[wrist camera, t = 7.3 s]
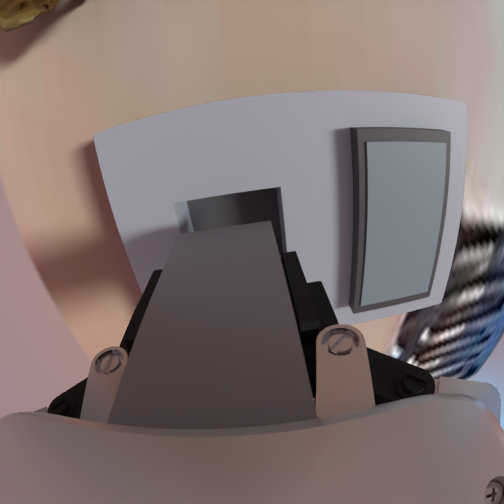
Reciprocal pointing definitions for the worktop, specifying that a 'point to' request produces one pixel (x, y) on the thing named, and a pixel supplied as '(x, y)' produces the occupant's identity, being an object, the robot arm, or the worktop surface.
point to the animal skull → (22, 12)
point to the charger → (217, 339)
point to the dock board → (303, 188)
